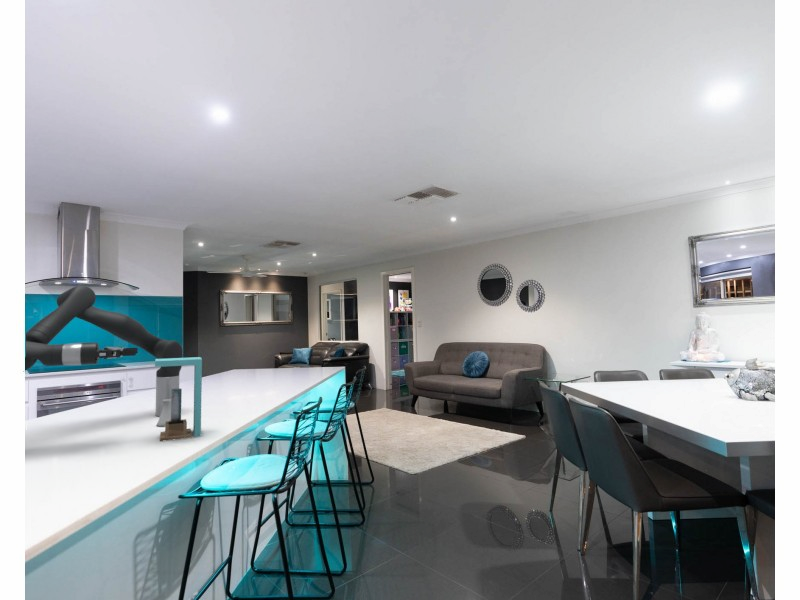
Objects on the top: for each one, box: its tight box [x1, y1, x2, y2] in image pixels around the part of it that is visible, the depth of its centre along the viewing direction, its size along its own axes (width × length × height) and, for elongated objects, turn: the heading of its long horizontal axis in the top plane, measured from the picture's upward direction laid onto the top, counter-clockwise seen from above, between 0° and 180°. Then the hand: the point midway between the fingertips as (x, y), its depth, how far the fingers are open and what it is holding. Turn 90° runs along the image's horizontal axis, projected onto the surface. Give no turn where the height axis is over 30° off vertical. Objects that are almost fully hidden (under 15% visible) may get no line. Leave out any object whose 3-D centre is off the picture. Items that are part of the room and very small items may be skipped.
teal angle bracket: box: [154, 356, 203, 438], centre depth 157 cm, size 10×15×28 cm, turn 118°
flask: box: [156, 399, 171, 427], centre depth 173 cm, size 7×7×10 cm
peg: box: [171, 387, 183, 424], centre depth 156 cm, size 3×3×16 cm
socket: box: [159, 418, 193, 442], centre depth 156 cm, size 10×10×5 cm
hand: (136, 351), depth 153 cm, fingers open, 8 cm apart
